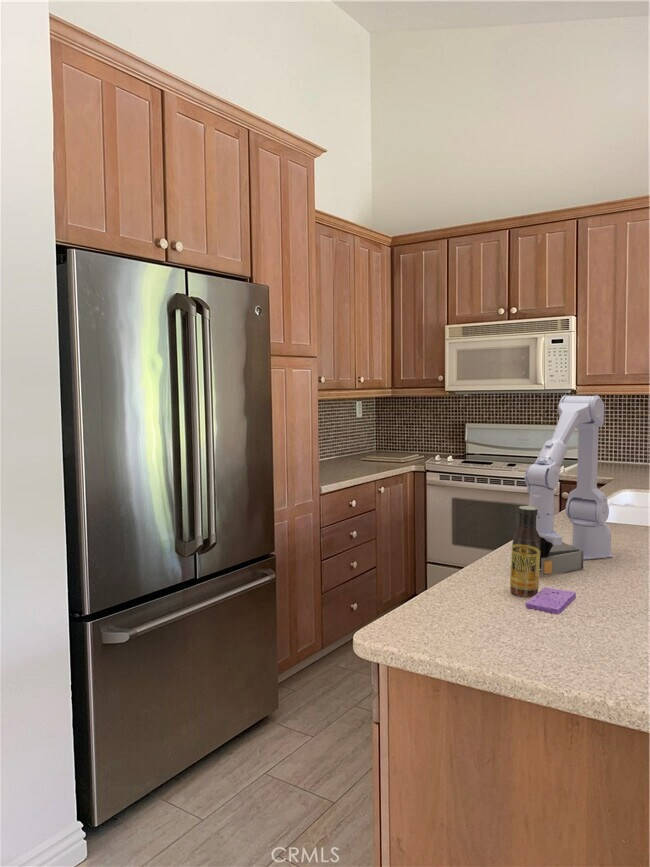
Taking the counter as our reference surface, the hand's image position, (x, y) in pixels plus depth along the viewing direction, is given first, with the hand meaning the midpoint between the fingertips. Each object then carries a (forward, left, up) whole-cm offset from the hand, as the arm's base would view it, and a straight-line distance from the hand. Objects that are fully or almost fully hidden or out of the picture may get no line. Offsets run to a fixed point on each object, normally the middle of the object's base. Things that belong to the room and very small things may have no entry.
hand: (541, 566), depth 163 cm
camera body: (-7, -6, -2) cm, 9 cm away
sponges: (+9, +19, -3) cm, 21 cm away
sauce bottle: (+11, +11, -2) cm, 16 cm away
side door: (-6, +1, -2) cm, 6 cm away
